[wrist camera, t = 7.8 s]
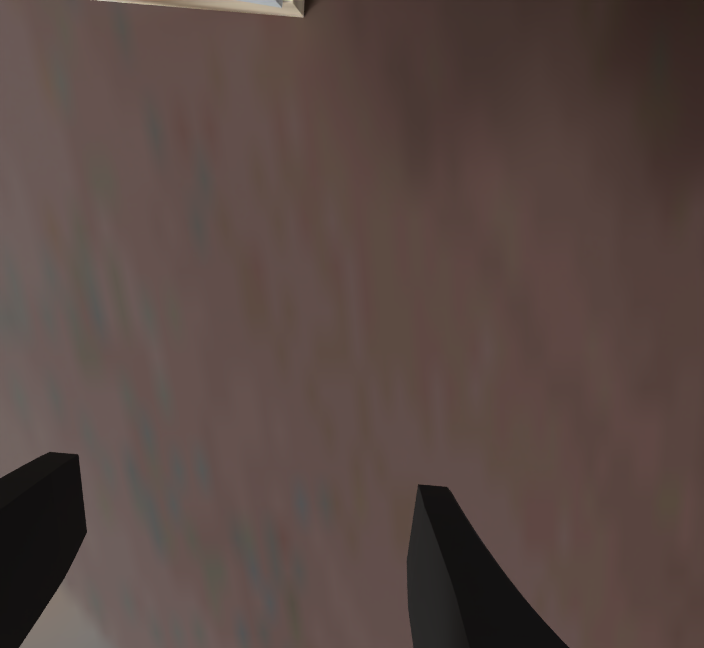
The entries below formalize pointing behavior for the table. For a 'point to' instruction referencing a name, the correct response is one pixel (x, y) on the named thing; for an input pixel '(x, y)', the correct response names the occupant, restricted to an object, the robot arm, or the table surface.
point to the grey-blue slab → (266, 2)
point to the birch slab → (229, 6)
